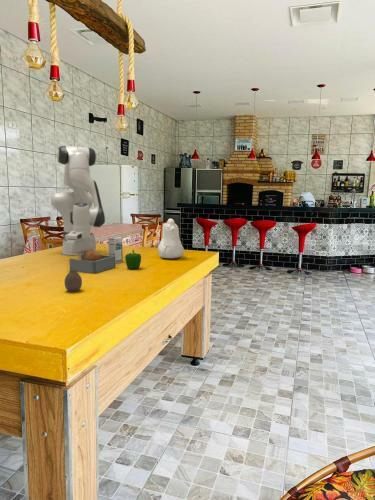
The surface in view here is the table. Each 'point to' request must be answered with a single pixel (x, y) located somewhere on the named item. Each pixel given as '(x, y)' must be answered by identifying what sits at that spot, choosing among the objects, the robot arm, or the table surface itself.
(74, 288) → the vase
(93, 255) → the onion
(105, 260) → the box
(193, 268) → the table surface
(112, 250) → the syrup box
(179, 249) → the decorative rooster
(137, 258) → the bell pepper
